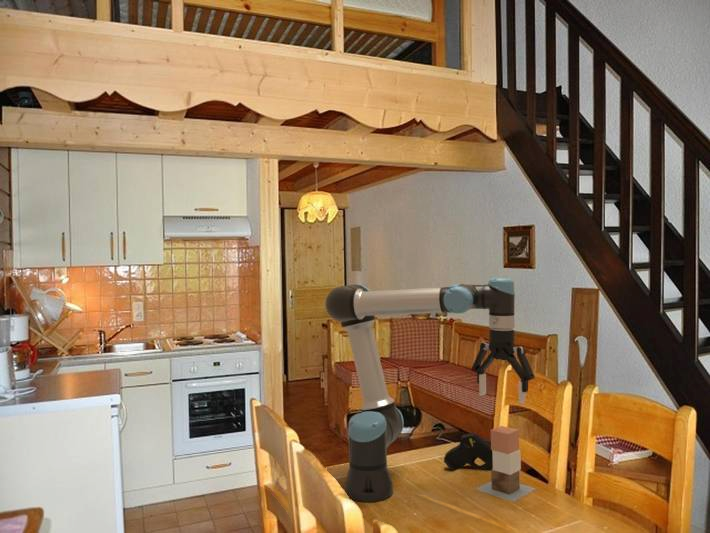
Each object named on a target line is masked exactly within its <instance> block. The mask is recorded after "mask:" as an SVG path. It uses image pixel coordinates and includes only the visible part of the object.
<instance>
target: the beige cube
mask: <svg viewBox="0 0 710 533" xmlns="http://www.w3.org/2000/svg"><path fill="white" fill-rule="evenodd" d="M521 451H522V450H521V449H520V448H519V450H517V451H515V452H513V453H510V454H505V453H501V452H498V451H494V450H492V453H493V470H495V471H498V472H502V473H505V474H509V475H512V474H513V473H515V472H517V471H519V472H520V471H521V470H522V461H521V460H522V458H521V457H522V456H521V455H522V454H521Z"/></svg>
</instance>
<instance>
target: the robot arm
mask: <svg viewBox="0 0 710 533" xmlns="http://www.w3.org/2000/svg"><path fill="white" fill-rule="evenodd" d="M515 295H516V293H515V281H514V280H513V279H512V278H505V277H504V278H500V277H499V278H489V280H488V283H487V284H464V283H460V284H452V285H451V286H443V287H441V286H440V287H426V288H424V287H422V288H409V289H408V288H407V289H406V288H404V289H388V290H387V289H386V290H371V289H369V288H368V287H366V286H364V285H362V284H356V283H355V284H350V285H341V286H337V287H335V288H333V289H332V290H330V291H329V292H328V294H327V296H326V297H325V303H324V305H325V309H326V313H327V314H328V316H329V317H330V318H331V319H332V320H334V321H337V322H340V325H341V328H342V330H344V331H346V332H347V335H348V340H349V341H348V342H349V345H350V349H351V354H352V357H353V362H354V365H355V369H356V370H355V371H356V374H357V379H358V383H359V387H360V391H361V396H362V401H363V402H362V404H361V406H360V412H359V413H356V414H354V415H352V416H351V417H350V419H349V421H348V428H347V434H348V457H349V462H348V463H349V467H348V471H347V474H346V480H345V481H344V488H343V489H344V490H345V492H346V493H347V495H348V496H349V497H350V498H351V499H350V498H349V499H350V500H354V501H357V502H363V503H367V502H368V503H373V502H380V501H383V500H386V499H388V498H390V497H391V496H392V495H393V494H394V484H393V480H392V478H391V475H390V472H389V469H388V468H389V467H388V464H387V462H388V460H387V459H388V458H387V453H388V452H387V451H388V450H387V449H388V447H389V446H390V445H391V444H392V443H393V442H395V441H396V440H397V439H399V437H400V435H401V434H402V432H403V429H404V424H405V422H404V416H403V414H402V412H401V410H400V409H399V408H397V406H396V402H395V399H394V398H392V397H391V396H390V395H389V392H388V388H387V384H386V380H385V375H384V371H383V367H382V363H381V358H380V354H379V350H378V345H377V342H376V337H375V333H374V329H373V325H374V323H375V322H376V316H393V315H396V316H397V315H399V316H400V315H415V314H416V315H418V314H419V315H420V314H423V315H424V314H448V313H449V314H450V313H451V314H457V315H458V314H463V313H466V312H468V311H469V310H488V322H489V323H488V326H489V328H490V329H489V330H488V340H489V343H488V342H487V341H486V342H481V343H480V345H479V350H478V353H477V355H476V358H474V359H475V360H474V361H473V364H472V367H471V371H472V372H475V374H476V381H477V382H476V383H477V384H478V390H479V391H478V392H479V394H478V395H479V396H485V395H487V373H485V371H486V370H487V369H488V368H489V367H490V365H491V364H492V363H493V361H495V360H501V361H506V362H507V363H509V364H510V366H511V368H512V369H513V370H514V372H515V373H516V375H517V376H518V377H519V381H518V404H524V403H526V402H527V400H526V398H527V396H526V395H527V392H529V381H532V380H534V379H535V378H536V377H535V374H534V372H533V370H532V368H531V365H530V363H529V360H528V359H527V358H528V357H527V356H526V354H525V347H524V346H516V347H515V339H516V338H515V336H516V335H515V330H514V328H516V327H515V326H516V325H515V299H516V298H515ZM488 350H489V351H490V353H489V354H488V355H487V352H488ZM515 354H516V355H515ZM486 355H487V356H486ZM516 356H517V357H516ZM485 357H486V358H485ZM517 358H518V360H517ZM484 359H485V360H484ZM483 360H484V361H483Z"/></svg>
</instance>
